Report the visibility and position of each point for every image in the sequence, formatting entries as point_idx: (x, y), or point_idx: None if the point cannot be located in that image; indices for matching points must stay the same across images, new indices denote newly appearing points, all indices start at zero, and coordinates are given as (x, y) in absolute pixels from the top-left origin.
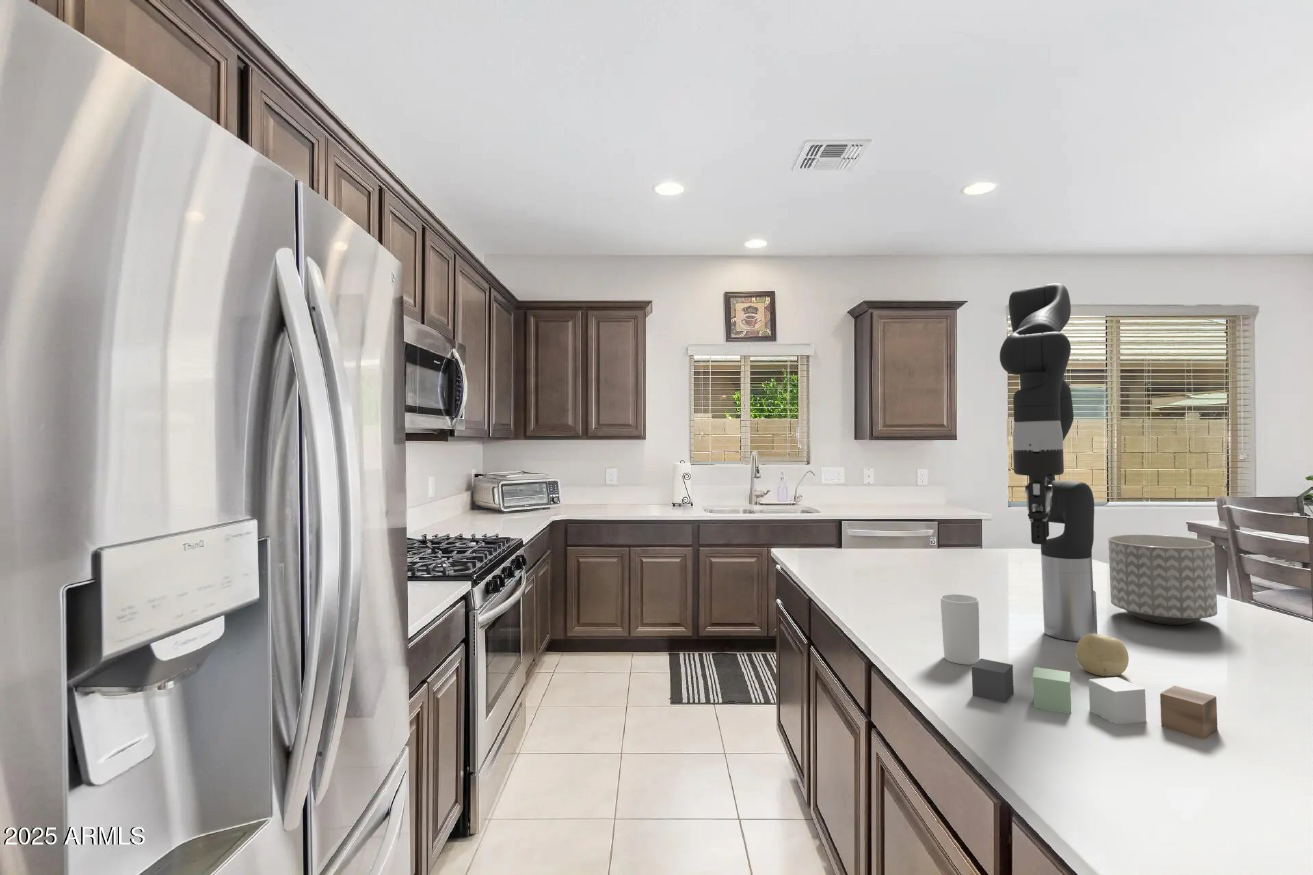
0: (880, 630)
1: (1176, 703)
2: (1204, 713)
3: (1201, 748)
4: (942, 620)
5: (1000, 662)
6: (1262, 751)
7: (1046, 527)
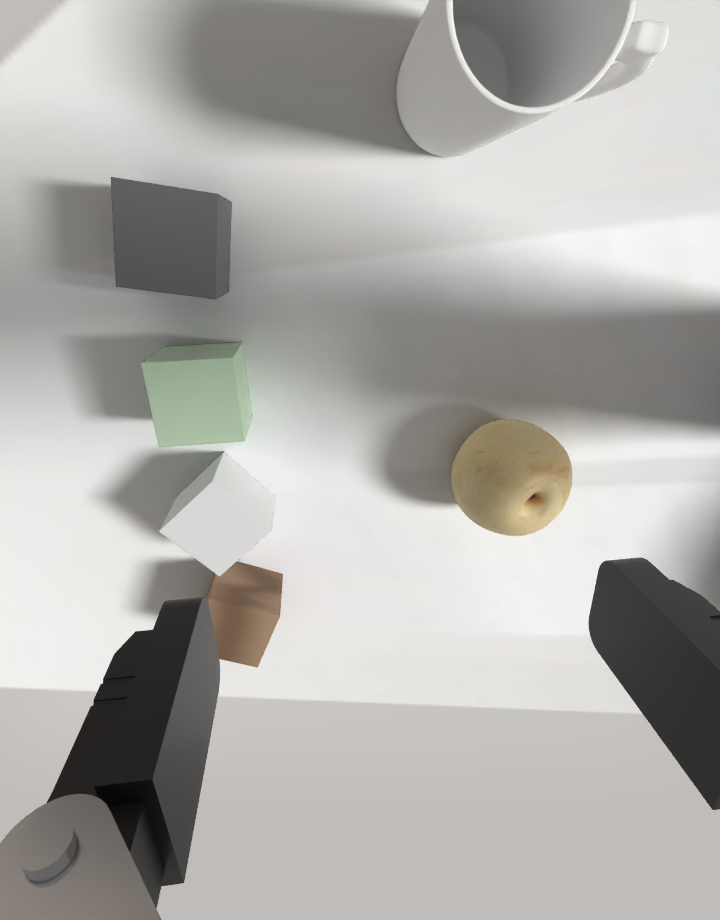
0: None
1: None
2: None
3: (157, 603)
4: None
5: (214, 261)
6: None
7: (637, 690)
